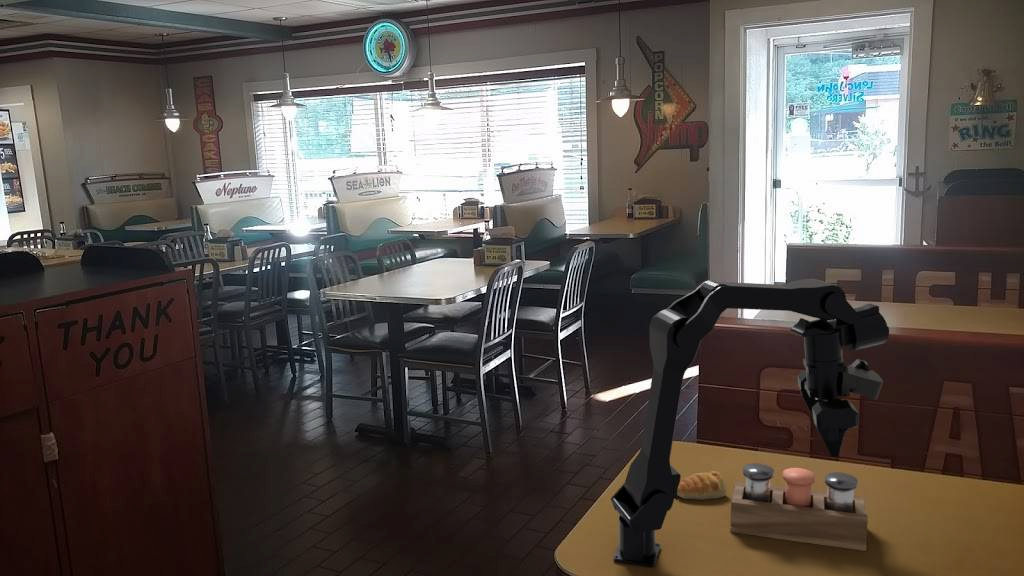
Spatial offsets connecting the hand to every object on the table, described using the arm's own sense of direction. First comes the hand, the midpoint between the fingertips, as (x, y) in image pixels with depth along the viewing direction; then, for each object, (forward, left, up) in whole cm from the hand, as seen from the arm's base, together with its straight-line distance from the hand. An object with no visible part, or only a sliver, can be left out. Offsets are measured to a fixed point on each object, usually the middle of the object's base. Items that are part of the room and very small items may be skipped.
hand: (828, 444), depth 133 cm
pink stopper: (-3, +4, -10) cm, 12 cm away
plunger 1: (-3, +11, -10) cm, 15 cm away
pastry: (+6, +21, -15) cm, 27 cm away
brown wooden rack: (-3, +4, -14) cm, 15 cm away
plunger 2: (-3, -2, -10) cm, 11 cm away
